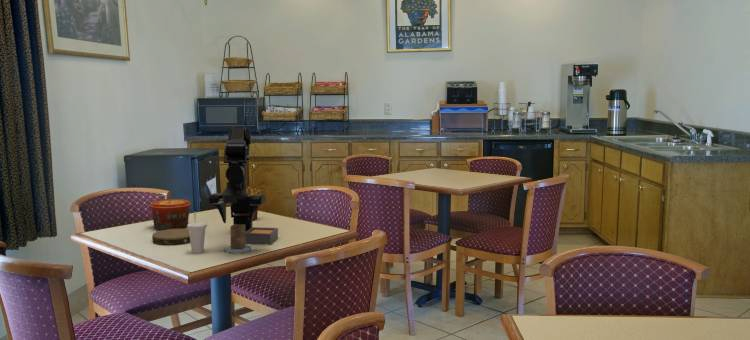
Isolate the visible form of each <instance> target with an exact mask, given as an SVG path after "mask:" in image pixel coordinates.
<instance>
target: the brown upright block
mask: <svg viewBox="0 0 750 340" xmlns="http://www.w3.org/2000/svg"><path fill="white" fill-rule="evenodd" d="M229 229H230V246H231V249H240V250H242V249H243V248H245V247H246V245H247V244H246V232H245V224H234V225H233V224H232V225H231V226H230V228H229Z"/></svg>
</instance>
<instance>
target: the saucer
mask: <svg viewBox="0 0 750 340" xmlns="http://www.w3.org/2000/svg"><path fill="white" fill-rule="evenodd" d="M249 251H250V252H251V251H252V246H251V245H249V244H246V247H245V248H243V249H242V250H240V249H231V245H230V246H226V247H225V248H224V252H225V253H226V252H228V253H227V254H231V253H241V254H246V253H245V252H247V253H249Z"/></svg>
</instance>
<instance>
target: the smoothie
mask: <svg viewBox="0 0 750 340" xmlns="http://www.w3.org/2000/svg"><path fill="white" fill-rule="evenodd" d="M193 219H194V221H193V222H192V223H188V225H187V228H186V229H188V230H189V236H190V242H191V243H190V248H191V253H192V254H202V253H204V248H205V237H206V228H207V226H208V225H207V223H205V222H197V212H196V211H194V212H193Z"/></svg>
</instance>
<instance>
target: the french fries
mask: <svg viewBox="0 0 750 340" xmlns="http://www.w3.org/2000/svg"><path fill="white" fill-rule="evenodd" d="M246 188H247V192H248V194H249V195H250V196H251V195H253V194H260V192H261V190H260V189H257V188H254V189H253V188H251V187H250V186H247V187H246ZM250 191H251V192H250ZM250 193H251V194H250ZM258 212H259V207H258V208H257V210H256V212H255V216H254V218H253V220H252V222H254V221H257V220H258V214H259V213H258Z"/></svg>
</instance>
